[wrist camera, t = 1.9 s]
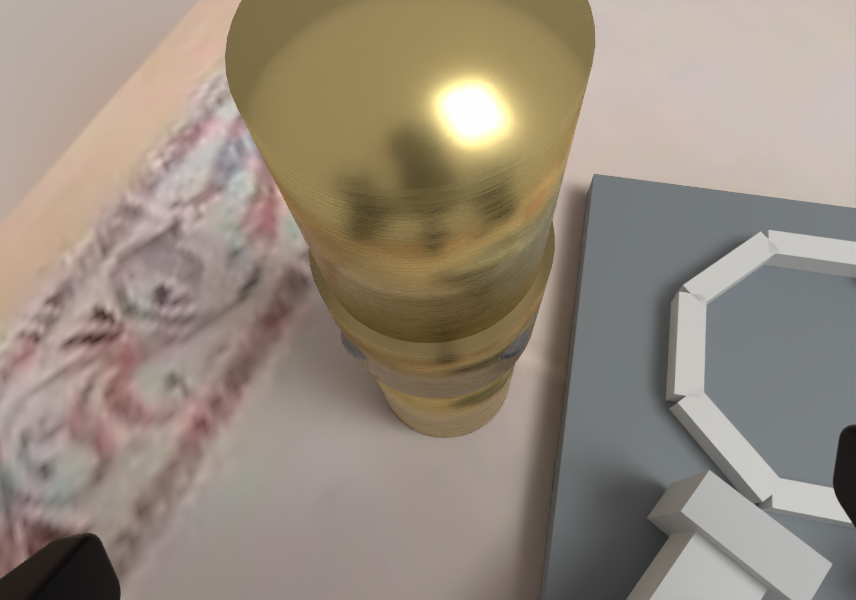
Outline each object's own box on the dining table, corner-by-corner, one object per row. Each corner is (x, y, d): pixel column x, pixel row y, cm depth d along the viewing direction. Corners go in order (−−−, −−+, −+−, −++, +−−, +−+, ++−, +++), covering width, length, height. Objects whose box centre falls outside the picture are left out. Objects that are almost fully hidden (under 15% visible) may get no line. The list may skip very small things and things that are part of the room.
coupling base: (1160, 1074, 13) (1481, 1314, 9) (506, 885, 15) (521, 1012, 11) (1009, 250, 20) (1145, 174, 16) (587, 192, 22) (614, 112, 18)
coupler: (552, 373, 20) (720, 21, 7) (445, 482, 18) (395, 315, 6) (446, 277, 21) (415, -158, 8) (341, 372, 20) (113, 42, 7)
